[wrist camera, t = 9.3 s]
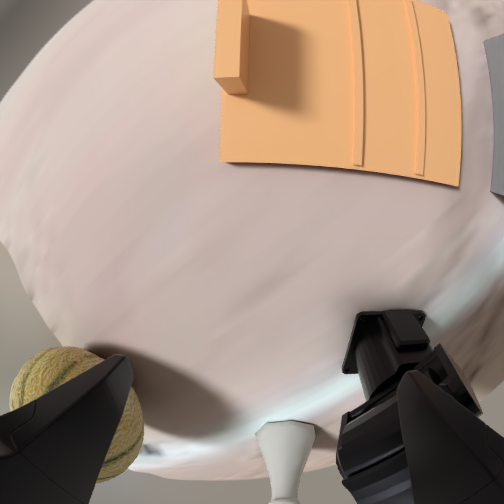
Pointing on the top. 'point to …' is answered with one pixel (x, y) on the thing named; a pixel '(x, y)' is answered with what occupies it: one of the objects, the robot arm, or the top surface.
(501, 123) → the tub
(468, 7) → the top surface
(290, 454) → the flask
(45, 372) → the cantaloupe
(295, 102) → the lid
